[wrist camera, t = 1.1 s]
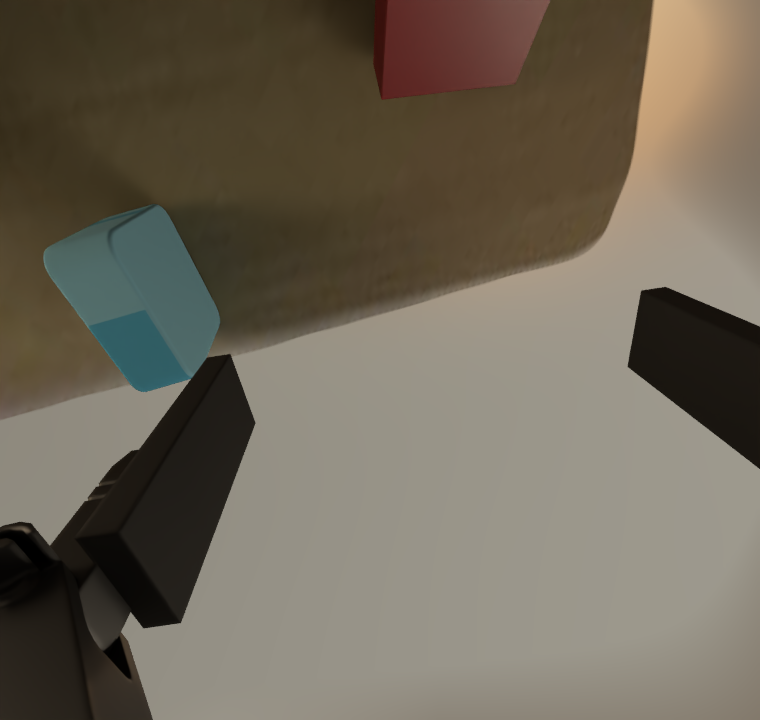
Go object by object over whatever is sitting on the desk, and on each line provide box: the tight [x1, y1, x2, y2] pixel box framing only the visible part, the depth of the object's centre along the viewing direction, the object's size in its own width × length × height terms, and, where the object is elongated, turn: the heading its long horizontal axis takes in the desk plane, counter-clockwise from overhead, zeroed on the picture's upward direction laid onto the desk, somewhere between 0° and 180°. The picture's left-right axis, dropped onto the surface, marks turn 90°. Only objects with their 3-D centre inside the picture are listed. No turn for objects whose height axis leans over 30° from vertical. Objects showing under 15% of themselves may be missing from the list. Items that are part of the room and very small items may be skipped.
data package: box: [44, 204, 220, 392], centre depth 32 cm, size 12×4×12 cm, turn 14°
